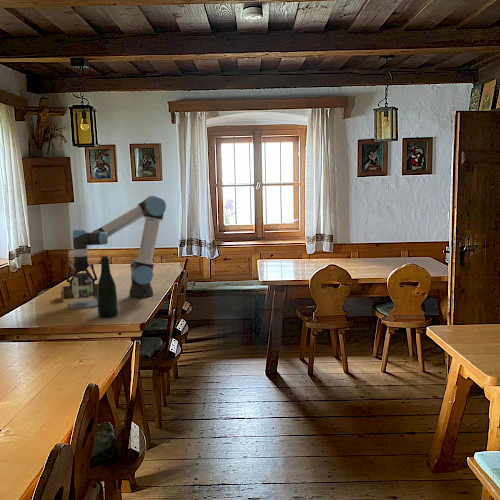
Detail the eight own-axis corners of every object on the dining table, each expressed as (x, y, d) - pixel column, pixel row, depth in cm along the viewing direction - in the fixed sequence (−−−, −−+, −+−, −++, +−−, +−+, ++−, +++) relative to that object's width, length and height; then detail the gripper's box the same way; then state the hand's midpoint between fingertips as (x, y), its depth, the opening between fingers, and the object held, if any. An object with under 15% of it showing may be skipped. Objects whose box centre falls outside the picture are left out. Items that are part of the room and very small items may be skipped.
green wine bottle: (101, 313, 282) (98, 254, 278) (120, 313, 282) (117, 254, 278) (95, 318, 272) (91, 257, 268) (114, 318, 272) (111, 257, 267)
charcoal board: (98, 306, 297) (98, 305, 297) (69, 309, 292) (69, 307, 292) (97, 301, 312) (97, 299, 312) (69, 303, 307) (69, 301, 307)
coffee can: (95, 295, 305) (94, 272, 303) (86, 299, 295) (85, 275, 293) (79, 295, 307) (78, 272, 306) (70, 299, 297) (69, 275, 296)
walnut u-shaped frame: (104, 298, 318) (103, 287, 317) (61, 302, 310) (61, 291, 309) (103, 293, 332) (102, 283, 331) (62, 297, 324) (61, 286, 323)
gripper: (100, 253, 305) (102, 290, 308) (60, 255, 298) (62, 293, 301) (101, 255, 298) (102, 292, 301) (60, 257, 291) (62, 295, 294)
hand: (82, 292), depth 301 cm, fingers closed on coffee can, 10 cm apart
